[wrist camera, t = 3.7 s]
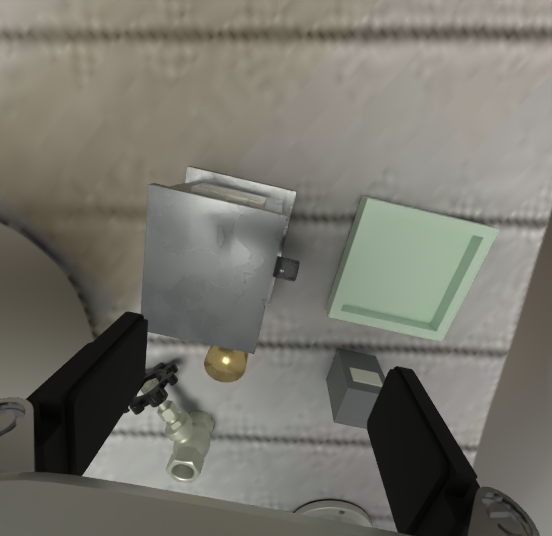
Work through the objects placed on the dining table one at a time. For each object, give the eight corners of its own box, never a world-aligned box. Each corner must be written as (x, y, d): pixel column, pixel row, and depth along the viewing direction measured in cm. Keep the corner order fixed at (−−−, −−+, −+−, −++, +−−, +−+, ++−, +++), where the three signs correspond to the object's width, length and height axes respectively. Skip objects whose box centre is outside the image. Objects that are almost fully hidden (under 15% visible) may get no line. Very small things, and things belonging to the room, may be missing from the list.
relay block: (362, 386, 34) (377, 431, 29) (326, 378, 34) (333, 422, 28) (375, 355, 32) (394, 396, 27) (337, 347, 32) (348, 386, 27)
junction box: (281, 306, 31) (279, 367, 22) (176, 283, 30) (129, 336, 21) (310, 194, 26) (322, 212, 17) (189, 166, 26) (137, 169, 17)
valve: (229, 424, 37) (183, 354, 34) (218, 477, 31) (160, 398, 27) (186, 437, 38) (137, 371, 35) (167, 491, 32) (104, 416, 28)
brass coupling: (248, 354, 33) (241, 385, 28) (214, 347, 33) (201, 377, 28) (254, 325, 32) (248, 353, 27) (219, 317, 31) (207, 344, 27)
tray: (432, 330, 31) (441, 341, 29) (325, 307, 30) (328, 317, 29) (485, 224, 27) (499, 229, 25) (362, 195, 26) (367, 198, 24)
